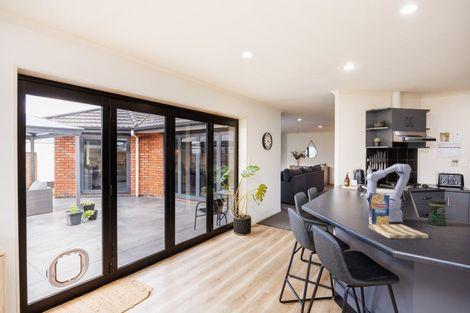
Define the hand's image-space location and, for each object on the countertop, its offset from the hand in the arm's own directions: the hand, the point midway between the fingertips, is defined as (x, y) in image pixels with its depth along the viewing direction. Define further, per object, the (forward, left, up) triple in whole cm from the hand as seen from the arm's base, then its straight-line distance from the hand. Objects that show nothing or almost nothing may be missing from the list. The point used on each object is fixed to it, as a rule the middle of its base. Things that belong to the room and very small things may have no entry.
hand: (371, 207), depth 181 cm
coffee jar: (-43, +9, -10) cm, 45 cm away
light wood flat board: (0, +26, -10) cm, 28 cm away
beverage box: (0, +9, -10) cm, 14 cm away
